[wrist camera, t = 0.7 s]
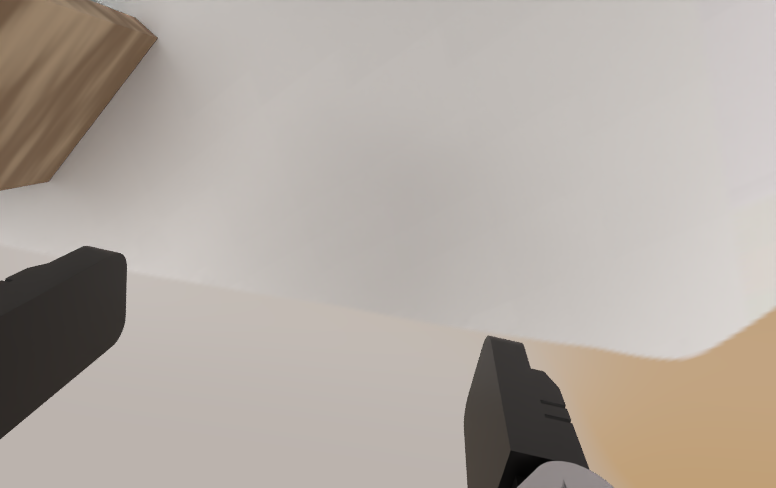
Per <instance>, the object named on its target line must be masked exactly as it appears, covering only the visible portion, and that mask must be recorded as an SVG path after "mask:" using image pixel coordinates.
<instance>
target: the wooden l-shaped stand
mask: <svg viewBox="0 0 776 488" xmlns="http://www.w3.org/2000/svg"><path fill="white" fill-rule="evenodd" d="M156 40H157V37H156V36H155V35H154V34H153V33H151V32H150V31H149V30H148V29H147V28H146V27H145V26H144V25H143V24H141V23H140V22H139V21H138V20H137V19H136V18H135V17H132V16H129V15H127V14H124V13H122V12H119V11H116V10H114V9H111V8H109V7H106V6H103V5H101V4H98V3H96V2H93V1H90V0H0V191H1V190H6V189H11V188H17V187H22V186H27V185H33V184H38V183H44V182H49V180H50V179H51V178H52V176H53V175H54V174H55V172H56V171H57V170H58V169H59V167H60V166H61V165H62V163H63V162H64V161H65V159H66V158H67V157H68V155H69V154H70V153H71V151H72V150H73V149H74V147H75V146H76V145H77V144H78V142H79V141H80V140H81V138H82V137H83V136H84V134H85V133H86V132H87V130H88V129H89V128H90V126H91V125H92V124H93V123H94V121H95V120H96V119H97V117H98V116H99V115H100V113H101V112H102V111H103V109H104V108H105V107H106V105H107V104H108V103H109V101H110V100H111V99H112V98H113V96H114V95H115V94H116V92H117V91H118V90H119V88H120V87H121V86H122V84H123V83H124V82H125V80H126V79H127V78H128V76H129V75H130V74H131V73H132V71H133V70H134V69H135V67H136V66H137V65H138V63H139V62H140V61H141V59H142V58H143V57H144V55H145V54H146V53H147V51H148V50H149V49H150V48H151V46H152V45H153V44H154V42H155V41H156Z"/></svg>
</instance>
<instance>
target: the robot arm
mask: <svg viewBox="0 0 776 488" xmlns="http://www.w3.org/2000/svg"><path fill="white" fill-rule="evenodd" d="M126 280H127V263H126V259H125V257H124V255H123V254H121V253H117V252H113V251H108V250H104V249H99V248H95V247H90V246H83V247H81V248H79V249H77V250H75V251H73V252H70V253H68V254H66V255H64V256H62V257H60V258H58V259H56V260H54V261H52V262H50V263H47V264H43V265H38V266H35V267H30V268H27V269H25V270H22V271H20V272H18V273H16V274H14V275H12V276H10V277H8V278H6V280H5V281H0V439H1V438H2V437H4V436H5V435H6V434H7V433H8V432H10V431H11V430H12V429H13V428H14V427H15V426H17V425H18V424H19V423H20V422H22V421H23V420H24V419H25V418H26V417H28V416H29V415H30V414H31V413H32V412H33V411H35V410H36V409H37V408H38V407H40V406H41V405H42V404H43V403H44V402H46V401H47V400H48V399H49V398H50V397H52V396H53V395H54V394H55V393H56V392H58V391H59V390H60V389H61V388H62V387H64V386H65V385H66V384H67V383H69V382H70V381H71V380H72V379H73V378H75V377H76V376H77V375H78V374H79V373H80V372H82V371H83V370H84V369H85V368H87V367H88V366H89V365H90V364H91V363H93V362H94V361H95V360H96V359H97V358H99V357H100V356H101V355H102V354H104V353H105V352H106V351H107V350H108V349H109V348H111V347H112V346H113V345H114V344H115V343H116V342H117V340H118V338H119V337H120V335H121V332H122V330H123V327H124V324H125V317H126V316H125V315H126ZM570 422H571V419H570V416H569V413H568V411H567V409H565V402H564V400H563V397H562V394H561V392H560V389H559V388H558V386H557V385H556V384H555V383H554V382H553V381H552V380H551V379H550V378H549V377H548V376H547V375H546V373H545V372H543V371H539V370H535V369H531V368H530V365H529V361H528V358H527V355H526V352H525V348H524V345H523V344H522V343H519V342H515V341H510V340H506V339H501V338H497V337H492V336H487V337H486V339H485V341H484V344H483V347H482V350H481V353H480V357H479V360H478V364H477V367H476V371H475V374H474V377H473V381H472V384H471V388H470V391H469V395H468V398H467V403H466V408H465V416H464V436H465V453H466V467H467V485H468V488H613V486H612V485H610V484H609V483H608V482H607V481H606V480H604V479H603V478H602V477H600V476H599V475H597V474H596V473H594V472H592V471H591V470H589V467H588V464H587V462H586V459H585V456H584V454H583V451H582V448H581V445H580V443H579V440H578V437H577V435H576V432H575V430H574V427H573V424H572V423H570Z"/></svg>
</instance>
